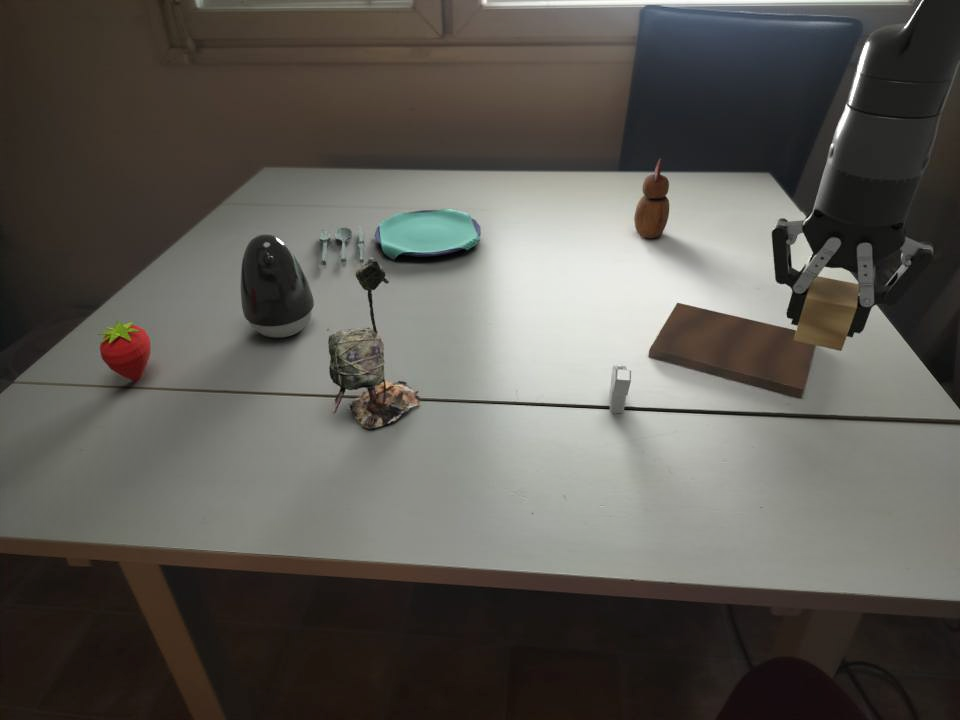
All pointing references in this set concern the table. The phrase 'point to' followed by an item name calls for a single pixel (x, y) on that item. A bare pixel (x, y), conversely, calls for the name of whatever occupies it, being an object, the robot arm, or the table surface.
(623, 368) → the lighter
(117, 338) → the strawberry
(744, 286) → the table surface
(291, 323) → the black egg shaped dome
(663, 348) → the walnut board
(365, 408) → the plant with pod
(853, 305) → the beech block
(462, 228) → the cutlery set
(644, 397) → the table surface
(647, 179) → the wooden figurine
